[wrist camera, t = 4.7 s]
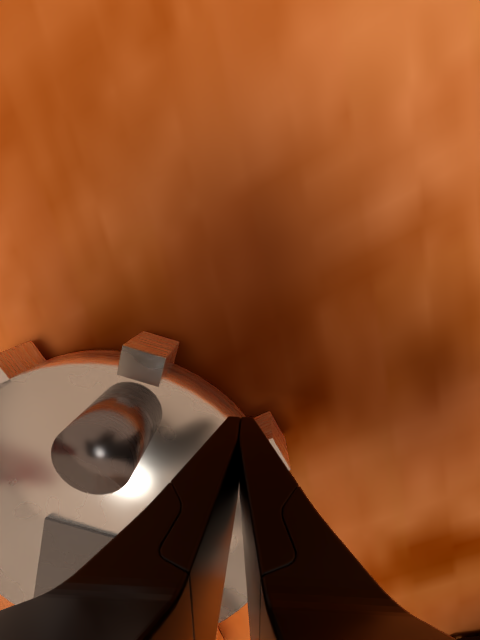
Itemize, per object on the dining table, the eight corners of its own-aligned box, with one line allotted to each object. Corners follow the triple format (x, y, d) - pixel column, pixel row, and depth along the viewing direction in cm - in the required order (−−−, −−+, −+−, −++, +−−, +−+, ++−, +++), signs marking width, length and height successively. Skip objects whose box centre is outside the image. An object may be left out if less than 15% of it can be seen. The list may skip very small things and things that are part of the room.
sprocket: (351, 393, 11) (409, 474, 7) (238, 639, 15) (232, 780, 11) (-37, 276, 11) (-219, 290, 7) (-46, 562, 15) (-160, 681, 11)
